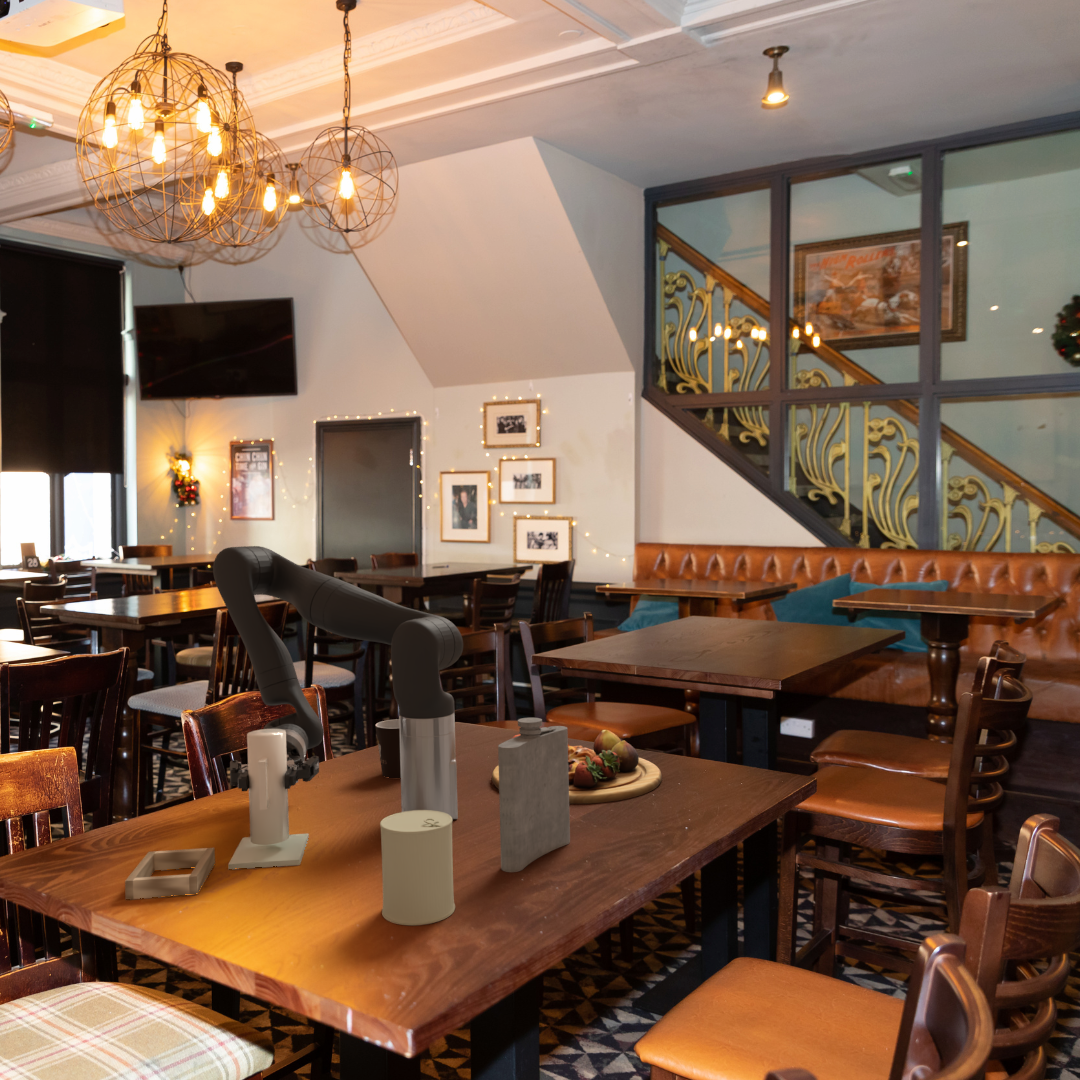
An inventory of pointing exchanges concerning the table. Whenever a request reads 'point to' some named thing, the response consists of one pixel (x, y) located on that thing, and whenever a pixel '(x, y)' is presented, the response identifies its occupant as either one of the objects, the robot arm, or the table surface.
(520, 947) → the table surface
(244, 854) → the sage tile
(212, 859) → the collar
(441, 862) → the can
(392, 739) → the coffee mug
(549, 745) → the hip flask
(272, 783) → the cream jug
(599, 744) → the wooden plate with food
